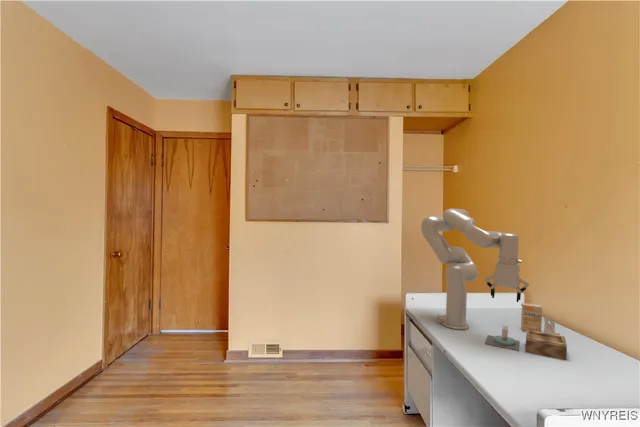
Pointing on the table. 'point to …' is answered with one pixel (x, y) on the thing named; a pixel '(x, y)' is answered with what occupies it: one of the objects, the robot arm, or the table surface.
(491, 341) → the mat
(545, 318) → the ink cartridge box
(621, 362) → the table surface
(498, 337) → the cover
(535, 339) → the tray
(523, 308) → the supplement box
